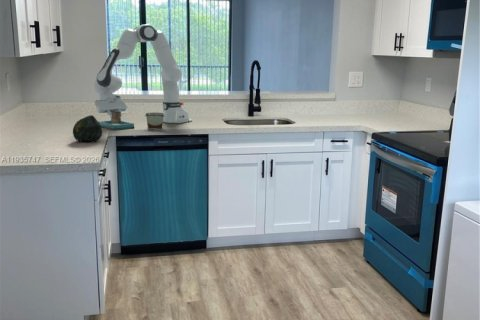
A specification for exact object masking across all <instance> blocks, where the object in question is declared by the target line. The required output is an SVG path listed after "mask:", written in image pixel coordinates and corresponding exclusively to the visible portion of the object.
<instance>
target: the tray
mask: <svg viewBox="0 0 480 320" xmlns="http://www.w3.org/2000/svg"><path fill="white" fill-rule="evenodd" d="M98 122H99V124H100V125H101V127H102V128H104V127H105V129H108V128H109V129H110V130H114V131H118V130H119V131H121V130H127V129H128V130H129V129H134V128H135V123H134V122H129V121H123V120H121V123H120V124H113V123H111V119H110V120H102V121H101V120H100V121H98Z"/></svg>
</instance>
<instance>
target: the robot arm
mask: <svg viewBox="0 0 480 320" xmlns="http://www.w3.org/2000/svg"><path fill="white" fill-rule="evenodd" d="M147 42H149V43H150V44H151V46H152V48H153V51H154V54H155V55H154V56H155V57H156V60H157V62H158V63H159V65H160V67H161V70H160V75H161V83H162V91H163V92H162V93H163V101H162V113H163V114H164V116H163V123H169V124H171V123H174V124H182V123H188V121H189V122H192V121H193V119H192V118H190V117H189V112H188V111H187V110H185V109H184V108H183V107H182V106H184V105H185V103H184V102H183V101H182V102H180V90H179V85H178V84H179V83H178V82H179V81H181V79H182V76H183V73H182V71H181V69H180V67H179V65H178V63H177V61H176V59H175V56H174V55H173V52H172V49H171V47H170V44H169V41H168V39H167V37H166V35H165V34H164V32H163V31H161V30H156V28H154V27H153V26H152V25H151V24H148V23H147V24H146V23H145V24H141V25H139V26H137V27H135V28H134V29H131V28H125V30H124V31H123V32H122V33H121V35H120V37H119V39H118V42H117V45H116V46H115V47H114V48H113V49H112V50H111V51H110V53H108V56H107V58H106V59H105V61H104V63H103V66H102V68H101V69H100V70H99V72H98V73H97V75H96V80H95V81H94V84H93V86H94V89H95V92H96V94H97V96H98V97H99V99H98V100H95V101H94V105H95V106H96V110H97V112H98V114H107V115H109V116H110V118H111V117H113V116H114V115H113V114H112V113H111V111H116V110H117V111H121V117H122V116H123V115H122V112H126V111H127V109H128V106H127V104H126V102H125V100H123V97H122V96H121V95H118V94H115V92H117V91H119V90H120V89H121V88H122V84H123V81H122V78H120V77H119V76H118V75H115V74H113V73H112V72H113V70H114V67H115V65H116V63H117V62H118V61H120V60H127V59H129V58H131V57H132V56H133V54H134V52H135V48H136V46H137V44H138V43H147Z"/></svg>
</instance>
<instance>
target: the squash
mask: <svg viewBox="0 0 480 320" xmlns="http://www.w3.org/2000/svg"><path fill="white" fill-rule="evenodd" d="M72 135H73V137H74V139H75V141H78V142H93V141H94V142H97V141H98V140H100V139H101V137H102V136H103V127H101V125H100V124H99V121H98V120H97V118H96V117H95V116H94V115H86V116H85V117H83V118H81V119H79V120H77V121H76V122H75V124H74V125H73V128H72Z"/></svg>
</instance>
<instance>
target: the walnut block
mask: <svg viewBox="0 0 480 320" xmlns="http://www.w3.org/2000/svg"><path fill="white" fill-rule="evenodd" d="M110 113H112V114H113V115H114V116H113V117H110V120H111V123H113V124H120V123H121V121H122V116H121V114H122V112H121V111H117V110H116V111H111V112H110Z"/></svg>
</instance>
